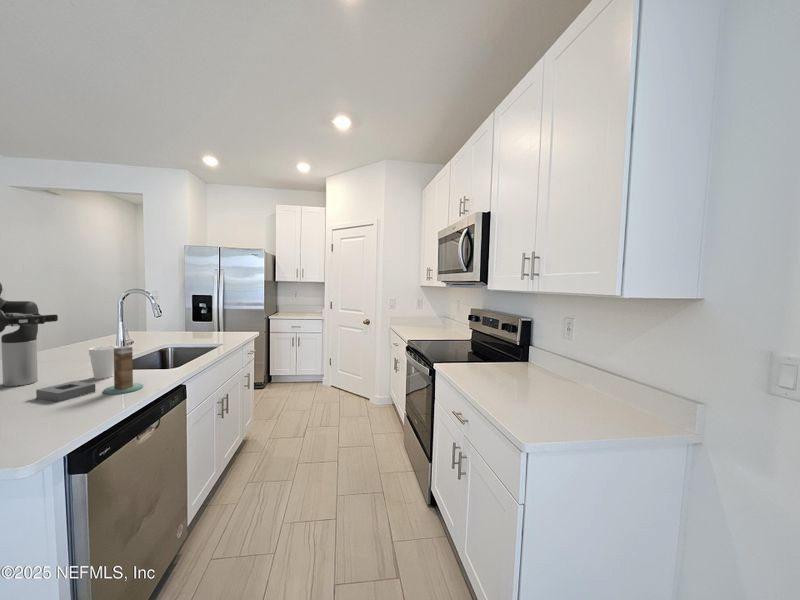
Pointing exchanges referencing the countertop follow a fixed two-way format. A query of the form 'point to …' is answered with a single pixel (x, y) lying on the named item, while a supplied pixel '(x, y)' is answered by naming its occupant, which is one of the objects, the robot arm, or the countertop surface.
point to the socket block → (65, 391)
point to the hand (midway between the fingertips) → (48, 317)
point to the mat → (116, 391)
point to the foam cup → (102, 361)
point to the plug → (123, 368)
